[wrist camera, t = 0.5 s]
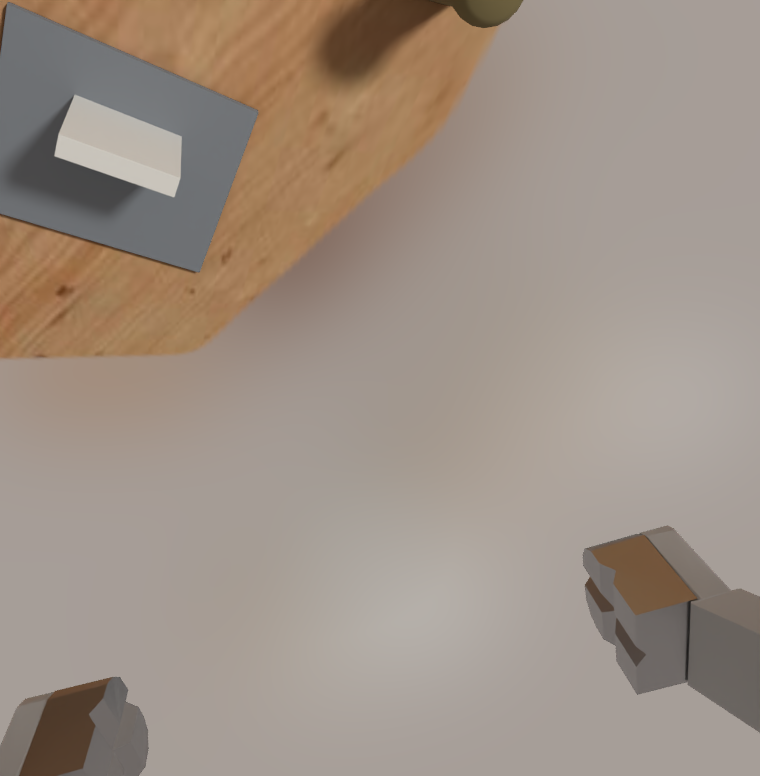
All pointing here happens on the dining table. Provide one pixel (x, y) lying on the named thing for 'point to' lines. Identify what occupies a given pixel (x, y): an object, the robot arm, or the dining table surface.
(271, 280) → the dining table surface
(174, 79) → the mat
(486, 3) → the olive green pawn
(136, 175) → the tile
